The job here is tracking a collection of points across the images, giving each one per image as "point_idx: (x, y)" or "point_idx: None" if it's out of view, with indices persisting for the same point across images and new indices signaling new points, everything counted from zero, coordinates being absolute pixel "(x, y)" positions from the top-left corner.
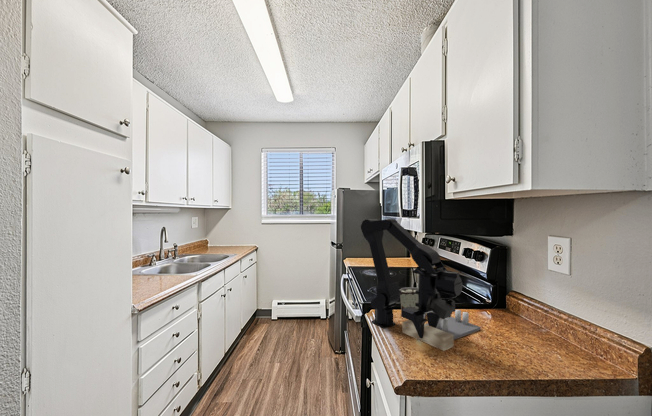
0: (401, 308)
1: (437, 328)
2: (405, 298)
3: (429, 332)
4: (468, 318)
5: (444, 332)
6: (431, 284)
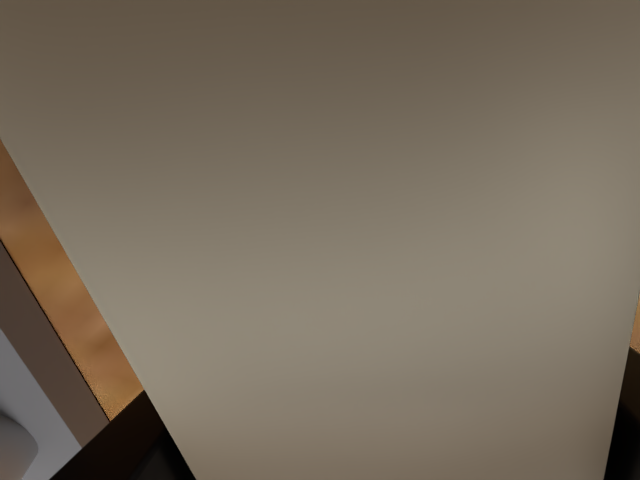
0: None
1: (9, 426)
2: None
3: (603, 303)
4: None
5: (61, 79)
6: None
